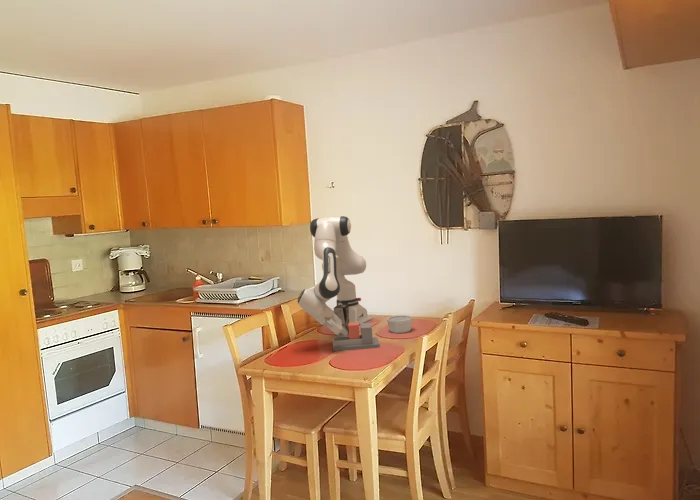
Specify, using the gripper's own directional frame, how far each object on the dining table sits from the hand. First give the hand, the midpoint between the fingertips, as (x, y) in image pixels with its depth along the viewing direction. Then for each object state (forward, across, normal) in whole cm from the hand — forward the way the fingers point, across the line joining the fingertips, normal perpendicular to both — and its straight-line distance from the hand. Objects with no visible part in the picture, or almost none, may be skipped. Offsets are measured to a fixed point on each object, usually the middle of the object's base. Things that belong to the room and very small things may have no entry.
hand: (347, 334), depth 269 cm
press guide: (+7, 0, +1) cm, 7 cm away
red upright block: (+5, 0, +1) cm, 5 cm away
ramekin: (+24, +22, -16) cm, 37 cm away
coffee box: (+3, +20, +6) cm, 21 cm away
